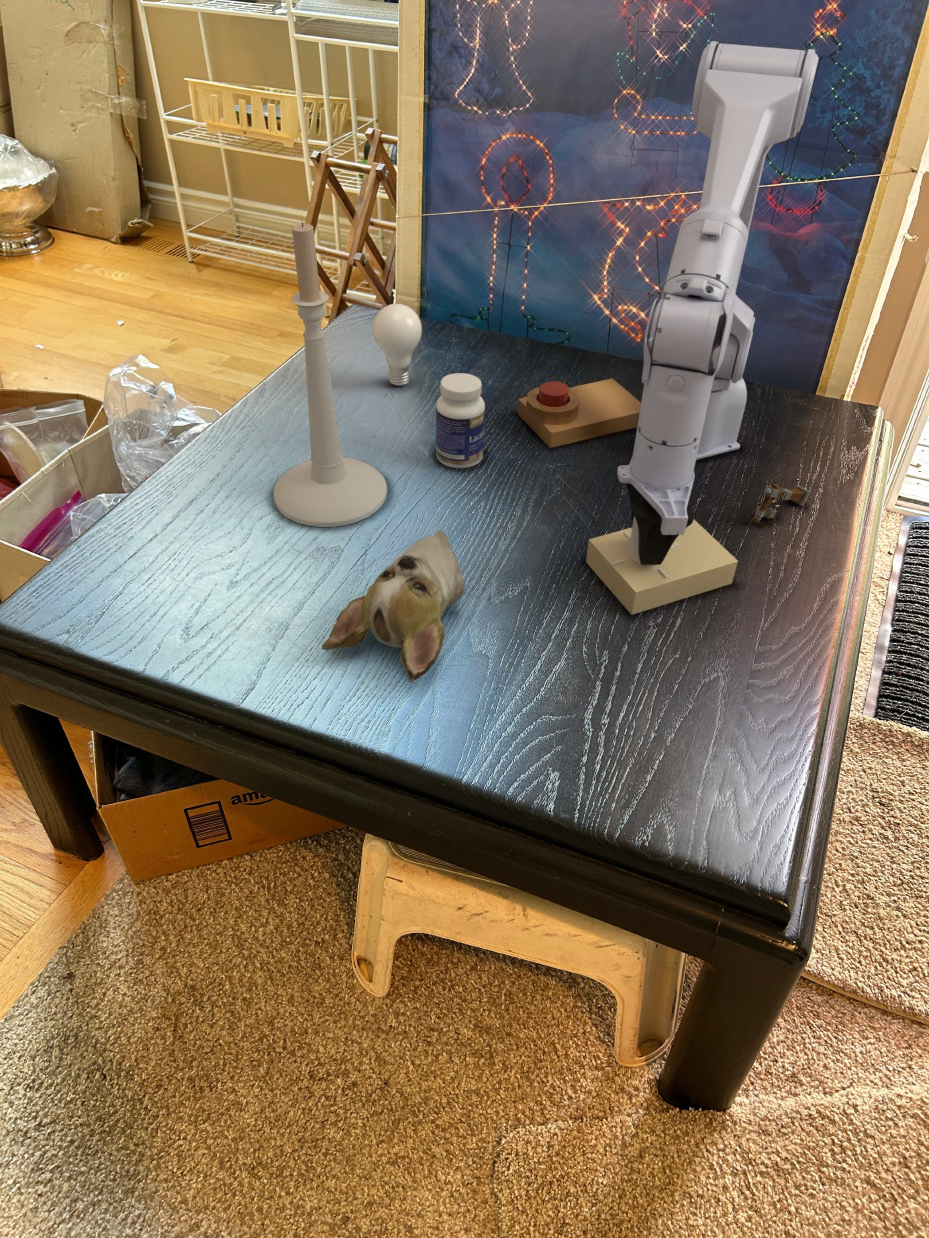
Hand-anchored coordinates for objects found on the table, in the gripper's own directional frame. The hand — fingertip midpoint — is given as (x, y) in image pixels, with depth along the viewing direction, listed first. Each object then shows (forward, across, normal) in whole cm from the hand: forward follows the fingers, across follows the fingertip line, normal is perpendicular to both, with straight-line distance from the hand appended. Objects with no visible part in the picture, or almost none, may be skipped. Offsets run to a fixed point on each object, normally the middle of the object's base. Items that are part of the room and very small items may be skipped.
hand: (646, 549), depth 90 cm
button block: (+4, -32, -2) cm, 32 cm away
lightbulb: (+4, -41, -26) cm, 48 cm away
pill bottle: (+4, -23, -18) cm, 29 cm away
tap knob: (+1, 0, 0) cm, 1 cm away
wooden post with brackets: (+4, -11, +18) cm, 21 cm away
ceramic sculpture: (+4, +8, -24) cm, 25 cm away
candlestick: (+4, -15, -33) cm, 37 cm away
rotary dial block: (+4, -1, +2) cm, 4 cm away
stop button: (0, -30, -6) cm, 30 cm away
